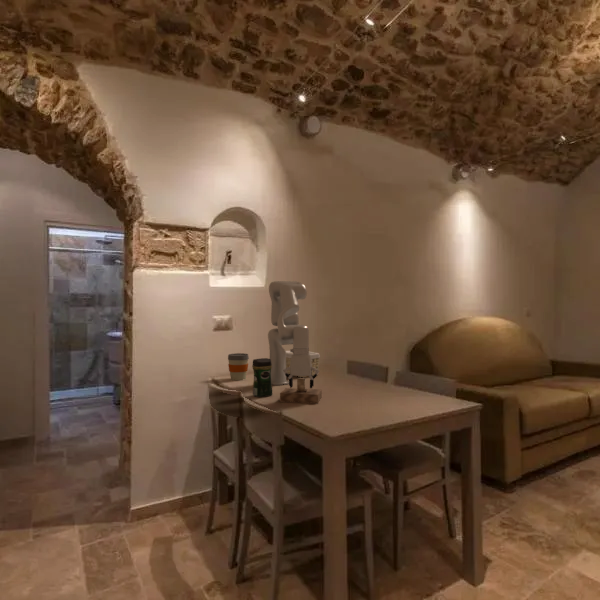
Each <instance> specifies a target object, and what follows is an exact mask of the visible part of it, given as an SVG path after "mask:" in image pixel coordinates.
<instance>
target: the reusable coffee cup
mask: <svg viewBox="0 0 600 600" xmlns="http://www.w3.org/2000/svg"><path fill="white" fill-rule="evenodd" d="M249 359H250V358H249V353H241V352H240V353H239V352H237V353H235V352H234V353H229V354H228V355H227V361H228V365H227V366H228V372H229V374H230V381H244V380H243V379H245V380H246V379H247V372H248V368H249Z"/></svg>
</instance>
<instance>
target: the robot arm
mask: <svg viewBox="0 0 600 600" xmlns="http://www.w3.org/2000/svg"><path fill="white" fill-rule="evenodd" d="M268 293H269V297H270V301H271V307H270V308H271V310H270V311H271V312H270V321H271V324H272V326H274V327H275V328H272V329H270V330H269V331H268V332H267V339H268V344H269V347H268V348H269V349H268V350H269V359H271V363H272V368H271V384H272V386H284V385H288V386H289V388H293V387H294V383H293V382H294V379H293V377H297V376H309V377H308V378H309V379H310V380H309V389H313V387H314V385H315V383H314V380H315V378H317V376H318V375H319V372H320V370H319V369H318V370H317V369H316V368H314V367H312V363H311V356H310V354H309V352H310V329H309V327H308V326H306V325H305V324H300V321H299V320H300V316H299V313H298V312H299V311H300V303H299V300H305V299H306V298H307V294H308V290H307V287H306V285H305V284H303V283H302V282H300V281H296V280H295V281H294V280H293V281H291V280H275V281H272V282H270V283H269V285H268ZM284 345H289V346H290V345H292V347H293V348H291V349H289V351H290V352H293V354H292V355H291V362H290V367H288V368H286V351H287V350H285V348H284V347H283V346H284ZM288 370H290V375H289V374H288V373H287V371H288ZM312 370H313V371H315V375H314V376H313V375H312ZM283 384H284V385H283Z"/></svg>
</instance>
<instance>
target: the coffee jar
mask: <svg viewBox="0 0 600 600" xmlns="http://www.w3.org/2000/svg"><path fill="white" fill-rule="evenodd" d="M251 368H252V369H253V382H252V395H253V397H259V398H263V397H270V396H272V395H273V385H272V384H271V368H272V363H271V359H270V358H268V357H265V358H263V357H262V358H255V359H253V360H252V367H251Z"/></svg>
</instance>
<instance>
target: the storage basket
mask: <svg viewBox="0 0 600 600" xmlns="http://www.w3.org/2000/svg"><path fill="white" fill-rule="evenodd" d="M285 351H286V368H288V367H290V362H291V355H292V354H293V352H290V350H285ZM309 354H310V356H311V363H312V367H314V368H316V369H317V370H319V369H320V368H319V367H320V358H321V355H320V353H319V352H313V351H309ZM287 373H288V374H290V370H288V371H287ZM312 375H313V376H314V375H315V371H313V370H312ZM301 377H303V378H307V377H306V376H298V377H297V378H301Z"/></svg>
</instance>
